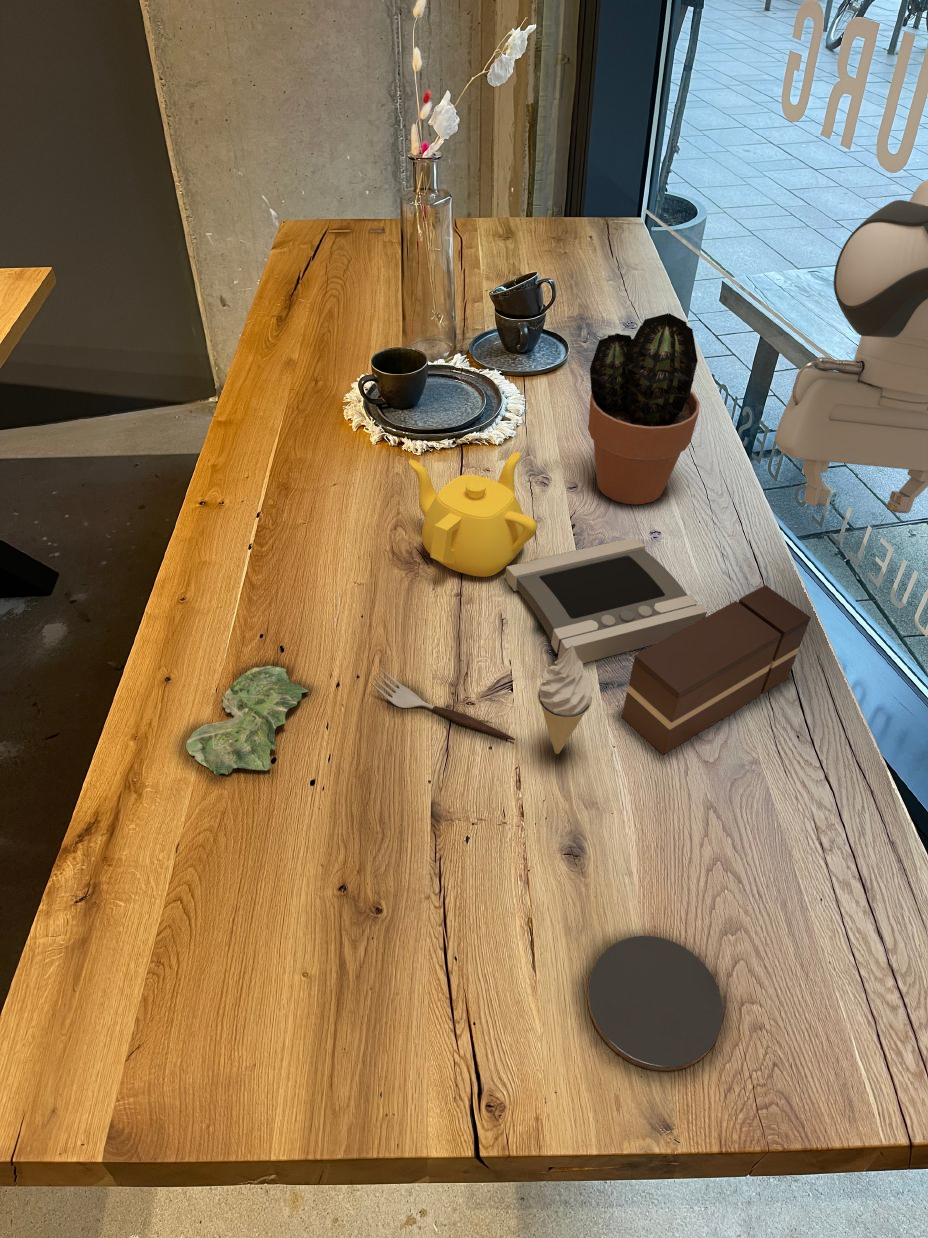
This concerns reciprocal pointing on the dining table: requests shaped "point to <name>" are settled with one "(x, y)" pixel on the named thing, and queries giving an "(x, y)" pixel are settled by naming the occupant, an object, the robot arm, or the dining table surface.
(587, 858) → the dining table surface
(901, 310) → the robot arm
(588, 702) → the ice cream cone
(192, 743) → the lettuce leaf
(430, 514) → the teapot
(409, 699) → the fork
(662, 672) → the cake loaf
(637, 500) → the potted plant
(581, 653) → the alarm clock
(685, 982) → the plate
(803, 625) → the cake slice
